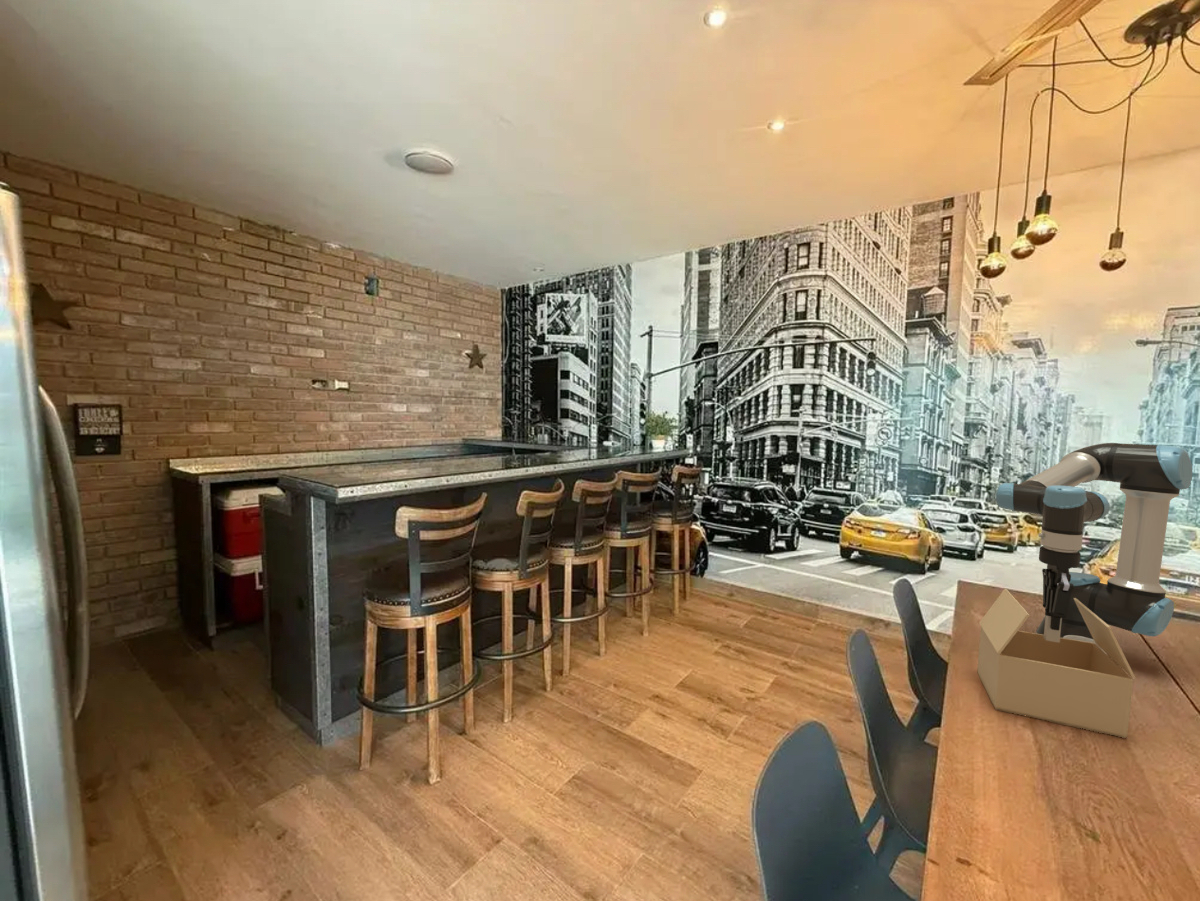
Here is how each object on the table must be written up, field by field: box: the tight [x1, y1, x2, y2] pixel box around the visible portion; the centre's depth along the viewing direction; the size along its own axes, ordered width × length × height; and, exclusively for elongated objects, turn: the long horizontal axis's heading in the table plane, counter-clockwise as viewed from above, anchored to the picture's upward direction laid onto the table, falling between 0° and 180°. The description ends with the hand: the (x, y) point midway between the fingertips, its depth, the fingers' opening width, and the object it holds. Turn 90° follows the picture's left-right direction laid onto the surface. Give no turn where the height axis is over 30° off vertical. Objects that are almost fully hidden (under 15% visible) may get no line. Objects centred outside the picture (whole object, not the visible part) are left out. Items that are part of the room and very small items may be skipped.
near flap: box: [1073, 598, 1136, 679], centre depth 122 cm, size 12×20×1 cm
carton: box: [976, 626, 1134, 740], centre depth 128 cm, size 24×20×14 cm
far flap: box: [979, 588, 1030, 654], centre depth 131 cm, size 12×20×1 cm
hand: (1051, 640), depth 127 cm, fingers closed
